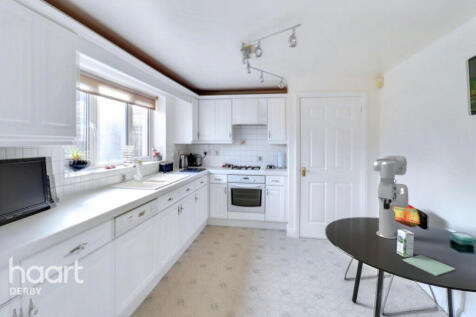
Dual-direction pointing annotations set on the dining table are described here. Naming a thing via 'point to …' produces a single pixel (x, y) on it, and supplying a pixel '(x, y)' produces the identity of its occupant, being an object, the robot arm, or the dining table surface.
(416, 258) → the mat
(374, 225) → the dining table surface
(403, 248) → the syrup box
